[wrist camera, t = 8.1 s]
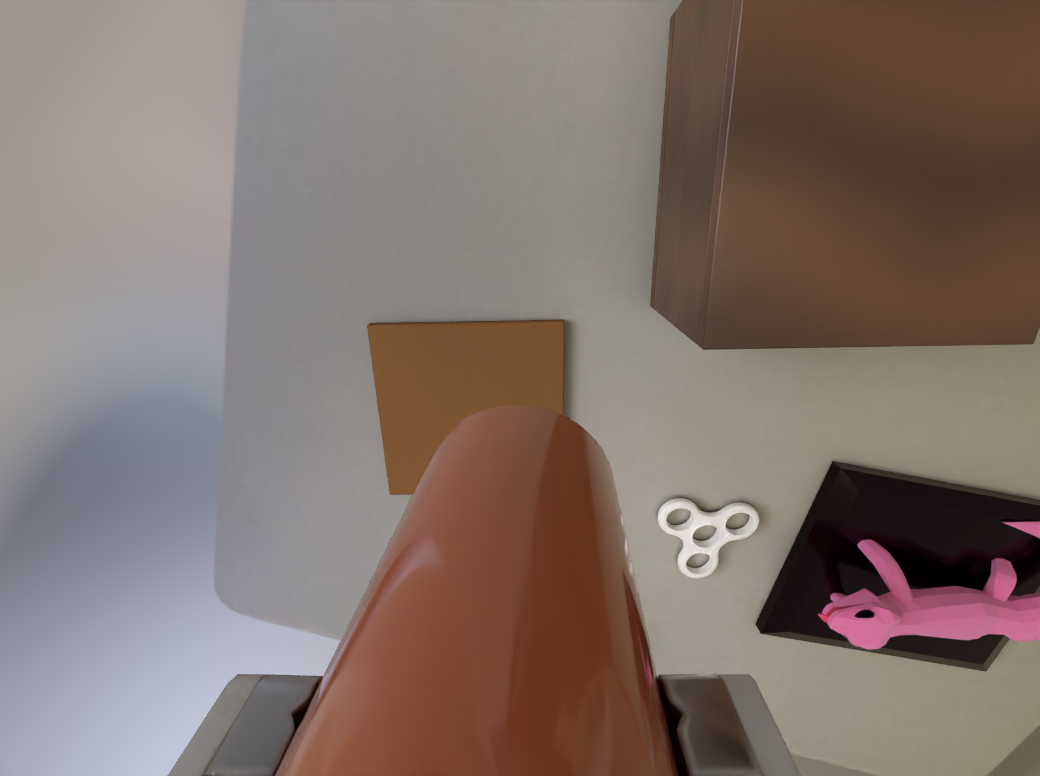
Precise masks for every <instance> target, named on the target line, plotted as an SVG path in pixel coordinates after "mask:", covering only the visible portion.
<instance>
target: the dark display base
mask: <svg viewBox="0 0 1040 776" xmlns="http://www.w3.org/2000/svg"><path fill="white" fill-rule="evenodd" d="M756 626H757V627H758V629H759V631H760V633H761V634H766V635H772V636H778V637H784V638H790V639H796V640H802V641H808V642H814V643H820V644H826V645H831V646H837V647H843V648H849V649H855V650H861V651H867V652H873V653H879V654H885V655H891V656H897V657H903V658H909V659H915V660H921V661H927V662H933V663H939V664H945V665H951V666H957V667H963V668H968V669H974V670H980V671H987V670H988V668H989V667H990V665H991V664H992V663H993V661H994V660H995V658H996V657H997V656H998V654H999V653H1000V652H1001V650H1002V649H1003V647H1004V646H1005V645H1006V643H1007V642H1008V641H1009V639H1011V640H1015V641H1031V640H1040V500H1036V499H1031V498H1026V497H1020V496H1015V495H1010V494H1004V493H999V492H994V491H988V490H983V489H978V488H972V487H967V486H962V485H956V484H951V483H946V482H940V481H935V480H930V479H924V478H919V477H914V476H908V475H903V474H898V473H892V472H887V471H881V470H876V469H871V468H865V467H860V466H855V465H849V464H844V463H839V462H832V464H831V466H830V468H829V470H828V473H827V475H826V477H825V479H824V481H823V483H822V485H821V487H820V489H819V491H818V494H817V496H816V498H815V500H814V502H813V504H812V506H811V508H810V510H809V513H808V515H807V517H806V519H805V521H804V523H803V525H802V527H801V529H800V532H799V534H798V536H797V538H796V540H795V542H794V544H793V546H792V548H791V550H790V553H789V555H788V557H787V559H786V561H785V563H784V565H783V567H782V569H781V572H780V574H779V576H778V578H777V580H776V582H775V584H774V586H773V588H772V591H771V593H770V595H769V597H768V599H767V601H766V603H765V605H764V607H763V609H762V612H761V614H760V616H759V618H758V620H757V622H756Z"/></svg>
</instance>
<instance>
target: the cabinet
mask: <svg viewBox="0 0 1040 776" xmlns="http://www.w3.org/2000/svg"><path fill="white" fill-rule="evenodd" d="M650 306H651V307H652V308H653V309H655V310H656V311H657V312H658V313H659V314H661V315H662V316H663V317H664V318H665V319H667V320H668V321H669V322H670V323H672V324H673V325H674V326H675V327H676V328H678V329H679V330H680V331H681V332H683V333H684V334H685V335H686V336H687V337H689V338H690V339H691V340H692V341H693V342H695V343H696V344H698V346H699V347H701V348H702V349H704V350H709V349H769V348H830V347H890V346H951V345H1011V344H1033V343H1034V341H1035V338H1036V336H1037V333H1038V330H1039V327H1040V0H683V1H682V3H681V4H680V5H679V7H678V8H677V9H676V11H675V12H674V13H673V15H672V16H671V19H670V33H669V47H668V61H667V76H666V90H665V104H664V118H663V132H662V146H661V161H660V175H659V189H658V203H657V217H656V231H655V246H654V260H653V274H652V288H651V302H650Z"/></svg>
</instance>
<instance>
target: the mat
mask: <svg viewBox="0 0 1040 776" xmlns="http://www.w3.org/2000/svg"><path fill="white" fill-rule="evenodd" d="M367 328H368V335H369V343H370V350H371V358H372V365H373V373H374V380H375V387H376V395H377V402H378V410H379V417H380V425H381V432H382V440H383V447H384V454H385V462H386V469H387V477H388V484H389V492H390V495H402V494H413V492H414V490H415V488H416V486H417V484H418V482H419V480H420V478H421V476H422V474H423V472H424V470H425V468H426V466H427V464H428V462H429V460H430V458H431V456H432V454H433V452H434V450H435V448H436V446H437V445H438V443H439V442H440V440H441V439H442V438H443V437H444V436H445V434H446V433H447V432H448V431H449V430H450V429H452V428H453V427H454V426H455V425H456V424H458V423H459V422H461V421H462V420H464V419H465V418H467V417H469V416H471V415H473V414H475V413H477V412H480V411H483V410H486V409H489V408H494V407H499V406H507V405H528V406H534V407H540V408H544V409H547V410H550V411H554V412H556V413H558V414H561V415H563V410H564V320H523V321H468V322H413V323H370V324H369V325H367Z"/></svg>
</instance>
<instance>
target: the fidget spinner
mask: <svg viewBox="0 0 1040 776" xmlns="http://www.w3.org/2000/svg"><path fill="white" fill-rule="evenodd" d="M678 508H685V509H688V510H689V511H691V515H690V518H689V519H688V521H687V522H685V523H684V524H681V525H671V524H669V523H668V522H666V519H667V516H668V514H669V513H670V512H671V511H673V510H675V509H678ZM736 513H746V514H748V515H749V521H748V523H747V524H746V525H745V526H744V527H742V528H740V529H736V530H732V529H728V528H726V521H727V520H728V518H729V517H730V516H732V515H733V514H736ZM658 522H659V525H660V527H661V528H662V529H663V530H664V531H665V532H667V533H668V534H671V535H675V536H678V537H679V538H680V539H681V540H682V541H683V548H682V550H681V552H680V553H679V555H678V559H677V563H678V566H679V569H680V570H681V572H682V573H683V574H685V575H686V576H688V577H691V578H703V577H706V576H708V575H710V574H711V573H712V572H714V570H715V569H716V568H717V566H718V552H719V550H720V548H721V547H722V546H723V545H724V544H725V543H727V542H729V541H732V540H739V539H744V538H746V537H749V536H750V535H752V534H753V533H754V532H755V531H756V529H757V527H758V525H759V516H758V513H757V512H756V510H755V509H754V508H753V507H752V506H750V505H748V504H746V503H732V504H729V505H727V506H726V507H724V508H723V509H721V510H719V511H717V512H713V513H707V512H703V511H701V510H699V509H698V508H697V506H696V505H695V504H694V503H693V502H692V501H690V500H688V499H684V498H675V499H672V500H669V501H667V502H666V503H664V504H663V505H662V506H661V508H660V510H659V512H658ZM706 525H710V526H714V527H716V532H715V534H714V535H713V536H712V537H711V538H710V539H708V540H705V541H698V540H695V539H693V534H694V532H695V531H696V530H697V529H698V528H700V527H702V526H706ZM697 553H705V554H707V555H709V560H708V562H707V563H706V564H705V565H704V566H702V567H699V568H691V567H688V566H687V565H686V562H687V560H688V558H689V557H690V556H692V555H694V554H697Z"/></svg>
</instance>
